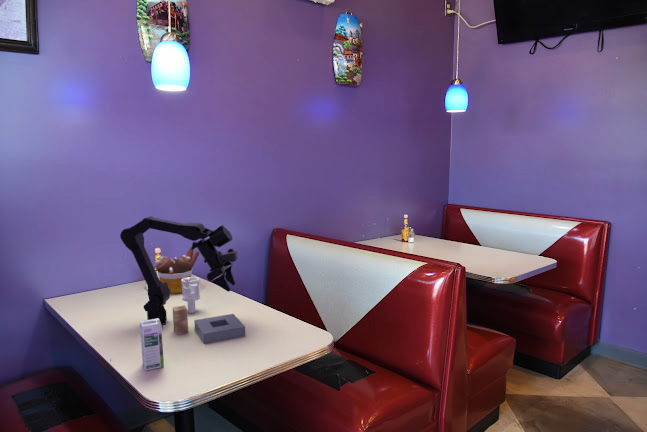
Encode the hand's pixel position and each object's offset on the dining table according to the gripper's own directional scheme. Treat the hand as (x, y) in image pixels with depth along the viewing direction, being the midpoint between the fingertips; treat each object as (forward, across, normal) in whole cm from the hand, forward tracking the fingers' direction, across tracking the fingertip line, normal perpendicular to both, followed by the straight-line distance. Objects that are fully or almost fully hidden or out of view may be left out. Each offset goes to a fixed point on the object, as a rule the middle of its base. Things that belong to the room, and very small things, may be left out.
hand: (232, 287), depth 183 cm
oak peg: (+3, -6, +23) cm, 24 cm away
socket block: (+11, -8, +11) cm, 17 cm away
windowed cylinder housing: (+2, +15, +25) cm, 29 cm away
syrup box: (+4, -34, +24) cm, 42 cm away
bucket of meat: (-7, +45, +37) cm, 58 cm away
